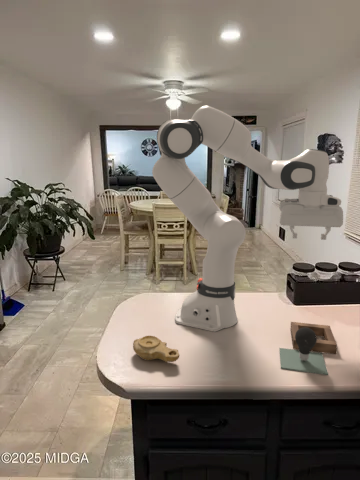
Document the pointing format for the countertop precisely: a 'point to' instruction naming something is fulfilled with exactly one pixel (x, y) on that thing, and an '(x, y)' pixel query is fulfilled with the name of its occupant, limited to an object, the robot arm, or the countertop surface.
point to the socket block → (320, 330)
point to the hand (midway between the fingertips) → (308, 238)
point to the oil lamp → (154, 349)
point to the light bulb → (305, 342)
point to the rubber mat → (302, 362)
